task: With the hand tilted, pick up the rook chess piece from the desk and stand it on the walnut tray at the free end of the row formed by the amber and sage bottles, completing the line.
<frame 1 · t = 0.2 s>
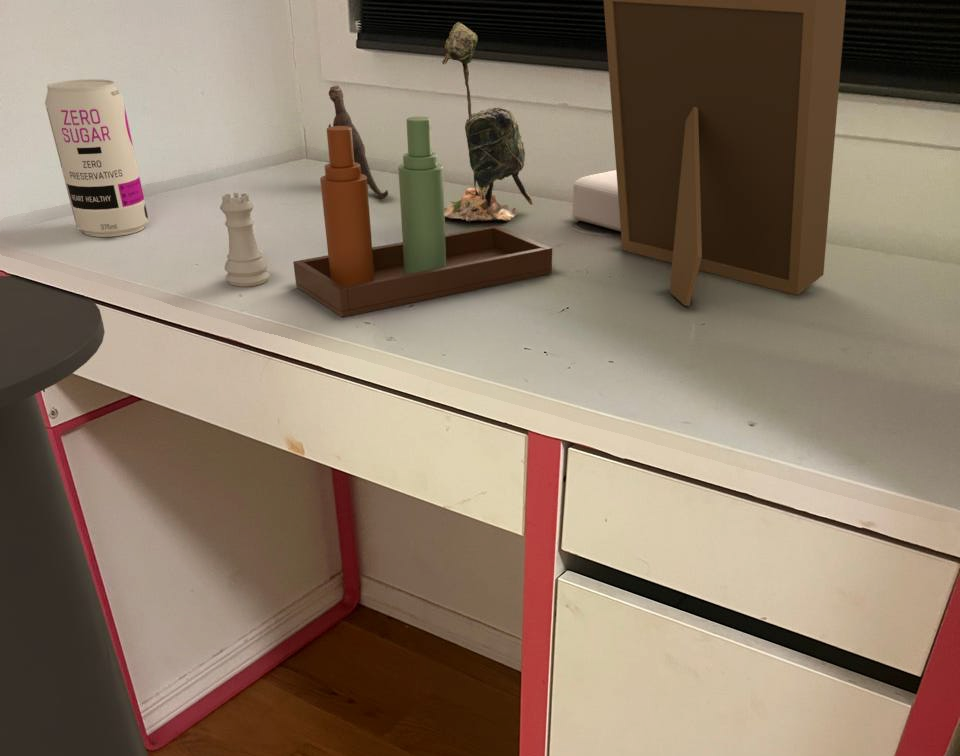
sage bottle: (425, 275, 96), resting on tray
supplement can: (114, 230, 113), on the table
photo frame: (684, 279, 96), on the table
rook chess piece: (248, 282, 97), on the table
tray: (425, 280, 96), on the table
dinosaur model: (364, 193, 127), on the table
charger: (644, 229, 111), on the table
plant with pod: (486, 220, 115), on the table
amber bottle: (353, 289, 92), resting on tray
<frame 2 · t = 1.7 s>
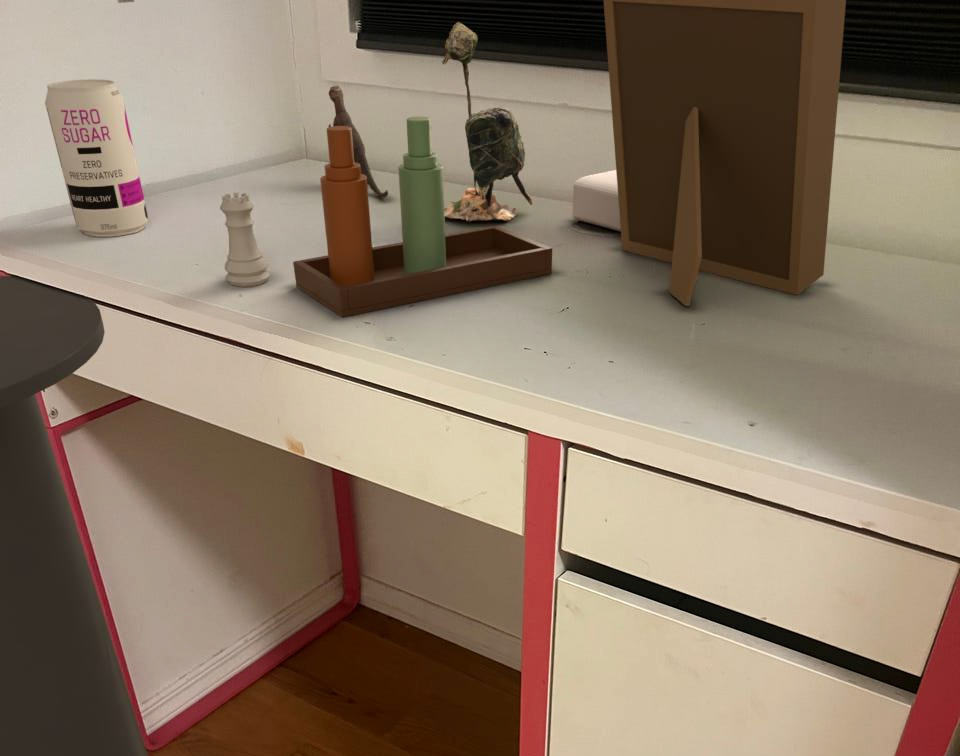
nothing on the table moved.
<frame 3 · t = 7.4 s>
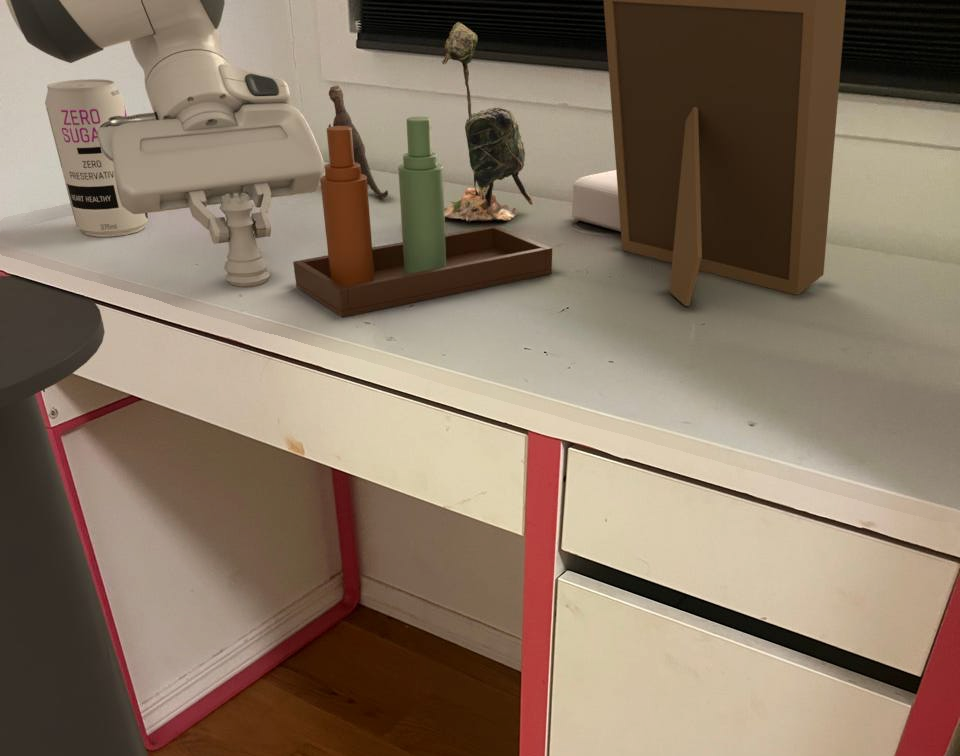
hand: (243, 236, 94), 4 cm above the table, tool tilted 45°, fingers closed on rook chess piece, 3 cm apart
rook chess piece: (248, 282, 97), on the table, touching gripper
everything else where it was.
when the fingers open (5 cm above the table, at t = 18.3 s): rook chess piece stays where it is, resting on tray.
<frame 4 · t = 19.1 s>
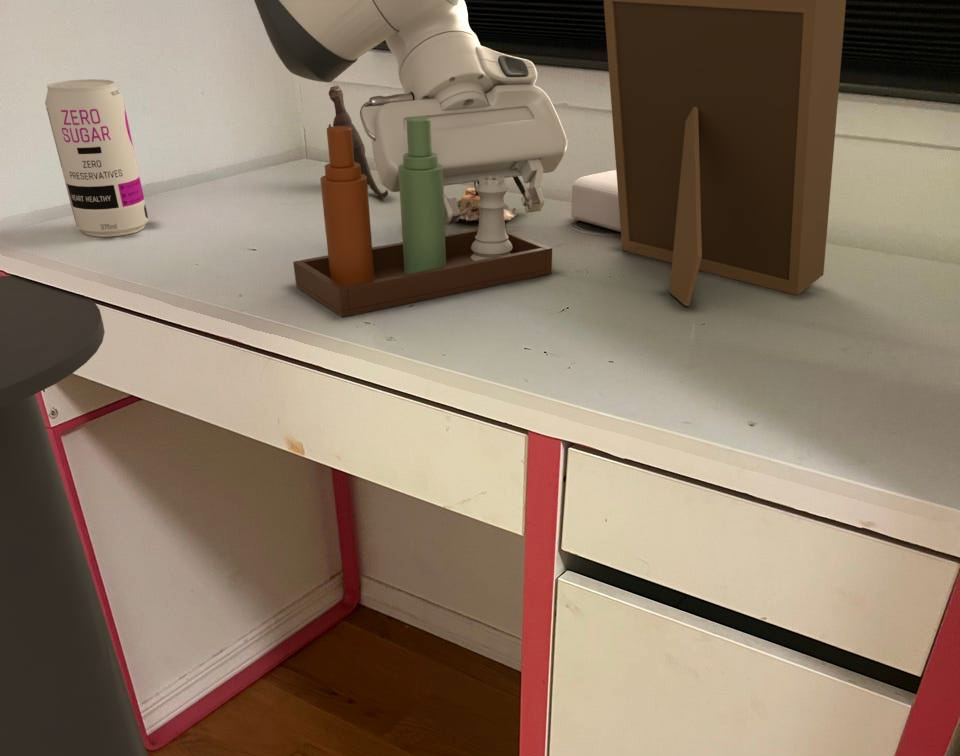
hand: (495, 214, 96), 5 cm above the table, tool tilted 45°, fingers open, 8 cm apart
rook chess piece: (491, 263, 99), resting on tray
everything else where it was.
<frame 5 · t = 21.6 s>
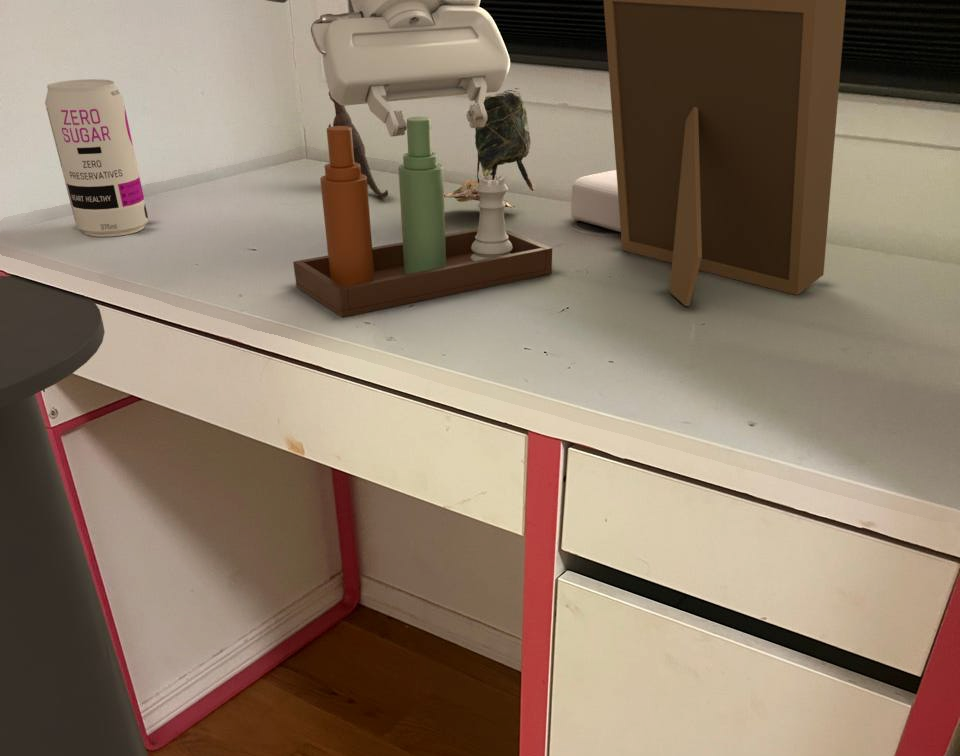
hand: (440, 128, 101), 11 cm above the table, tool tilted 45°, fingers open, 8 cm apart
plant with pod: (485, 208, 114), point 1 cm above the table
everything else where it was.
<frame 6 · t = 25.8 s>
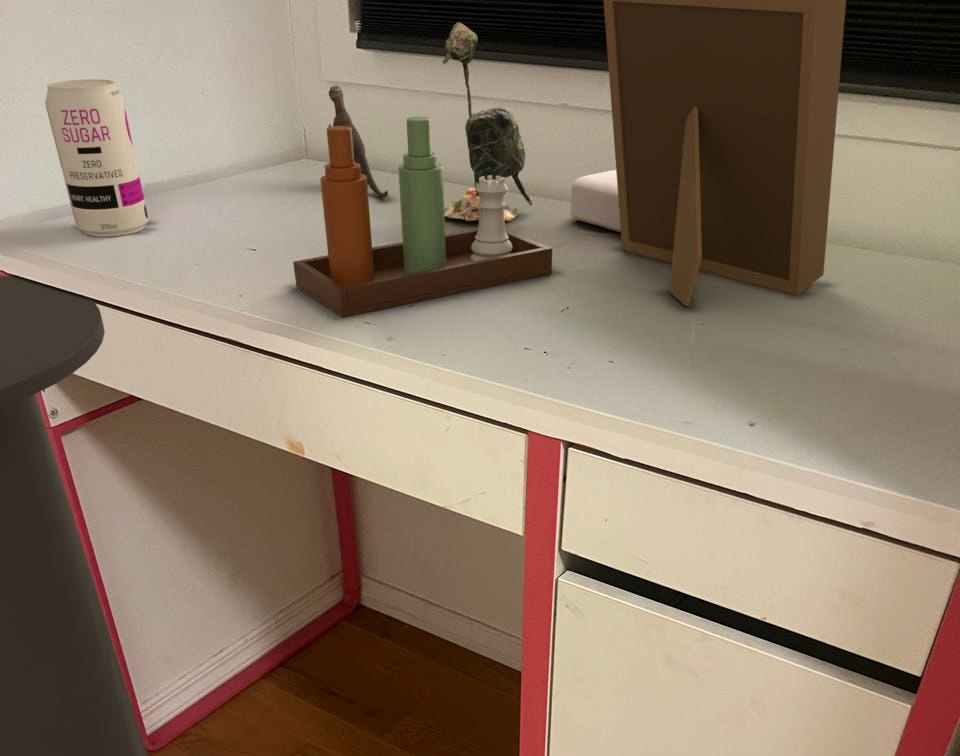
plant with pod: (487, 220, 115), on the table
everything else where it was.
at the end: rook chess piece 0.1 cm from the target spot, resting on tray; rook chess piece tilted 0°; sage bottle moved 0.0 cm from its start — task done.
